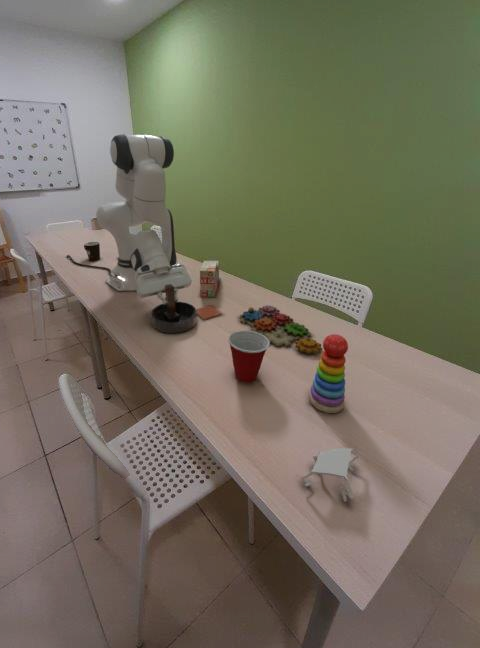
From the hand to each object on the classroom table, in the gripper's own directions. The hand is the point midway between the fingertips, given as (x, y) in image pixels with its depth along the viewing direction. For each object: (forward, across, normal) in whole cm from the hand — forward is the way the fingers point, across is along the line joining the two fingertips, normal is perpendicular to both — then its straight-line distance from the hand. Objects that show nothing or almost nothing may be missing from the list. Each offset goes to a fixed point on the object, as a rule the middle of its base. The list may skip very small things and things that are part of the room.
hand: (171, 302), depth 105 cm
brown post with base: (+5, 0, -6) cm, 8 cm away
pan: (+6, -1, -7) cm, 9 cm away
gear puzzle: (+23, -30, +10) cm, 39 cm away
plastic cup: (+32, -6, +18) cm, 37 cm away
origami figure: (+54, -3, +40) cm, 67 cm away
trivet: (+6, -15, -7) cm, 18 cm away
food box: (-9, -29, -22) cm, 38 cm away
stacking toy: (+44, -17, +31) cm, 56 cm away
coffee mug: (-61, +9, -74) cm, 96 cm away
